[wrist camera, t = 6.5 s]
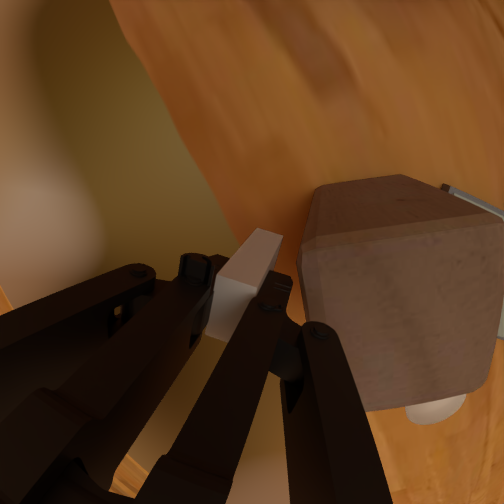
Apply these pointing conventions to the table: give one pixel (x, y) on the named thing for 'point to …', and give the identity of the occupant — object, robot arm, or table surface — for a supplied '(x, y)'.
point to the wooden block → (404, 286)
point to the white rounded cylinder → (434, 410)
